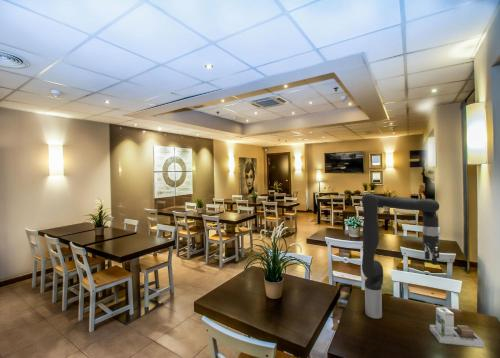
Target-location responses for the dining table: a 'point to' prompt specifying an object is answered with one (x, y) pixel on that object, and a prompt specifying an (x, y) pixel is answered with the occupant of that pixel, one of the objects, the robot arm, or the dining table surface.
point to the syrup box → (444, 321)
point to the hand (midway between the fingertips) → (430, 261)
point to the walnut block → (465, 331)
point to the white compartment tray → (457, 338)
